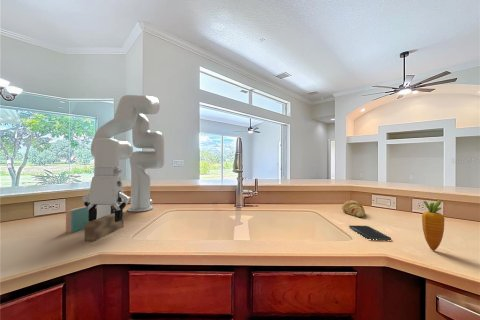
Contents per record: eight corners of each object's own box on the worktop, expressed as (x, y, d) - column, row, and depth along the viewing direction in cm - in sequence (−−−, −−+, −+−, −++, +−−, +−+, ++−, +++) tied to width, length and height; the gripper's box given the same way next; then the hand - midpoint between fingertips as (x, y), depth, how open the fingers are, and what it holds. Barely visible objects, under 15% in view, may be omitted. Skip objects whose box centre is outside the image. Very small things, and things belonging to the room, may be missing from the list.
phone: (368, 238, 72) (348, 225, 87) (368, 241, 72) (348, 228, 87) (393, 238, 72) (368, 225, 87) (393, 242, 72) (368, 228, 87)
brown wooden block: (116, 227, 86) (116, 212, 86) (123, 227, 86) (123, 212, 86) (84, 242, 70) (84, 223, 70) (93, 242, 70) (93, 223, 70)
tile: (65, 232, 78) (66, 210, 79) (85, 225, 87) (85, 205, 88) (72, 232, 78) (72, 210, 78) (91, 225, 87) (91, 205, 87)
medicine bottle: (110, 221, 93) (111, 193, 94) (96, 220, 95) (97, 193, 95) (122, 217, 100) (123, 191, 101) (109, 216, 102) (110, 190, 102)
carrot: (417, 247, 66) (417, 198, 67) (432, 247, 67) (432, 198, 67) (433, 254, 61) (433, 201, 62) (449, 254, 62) (449, 201, 62)
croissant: (367, 226, 101) (376, 211, 101) (348, 215, 102) (356, 200, 102) (350, 214, 122) (357, 202, 122) (334, 205, 123) (341, 193, 123)
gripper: (135, 172, 81) (134, 218, 80) (91, 172, 82) (90, 217, 82) (123, 173, 73) (122, 224, 73) (75, 172, 75) (73, 222, 74)
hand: (105, 220), depth 77 cm, fingers open, 9 cm apart
